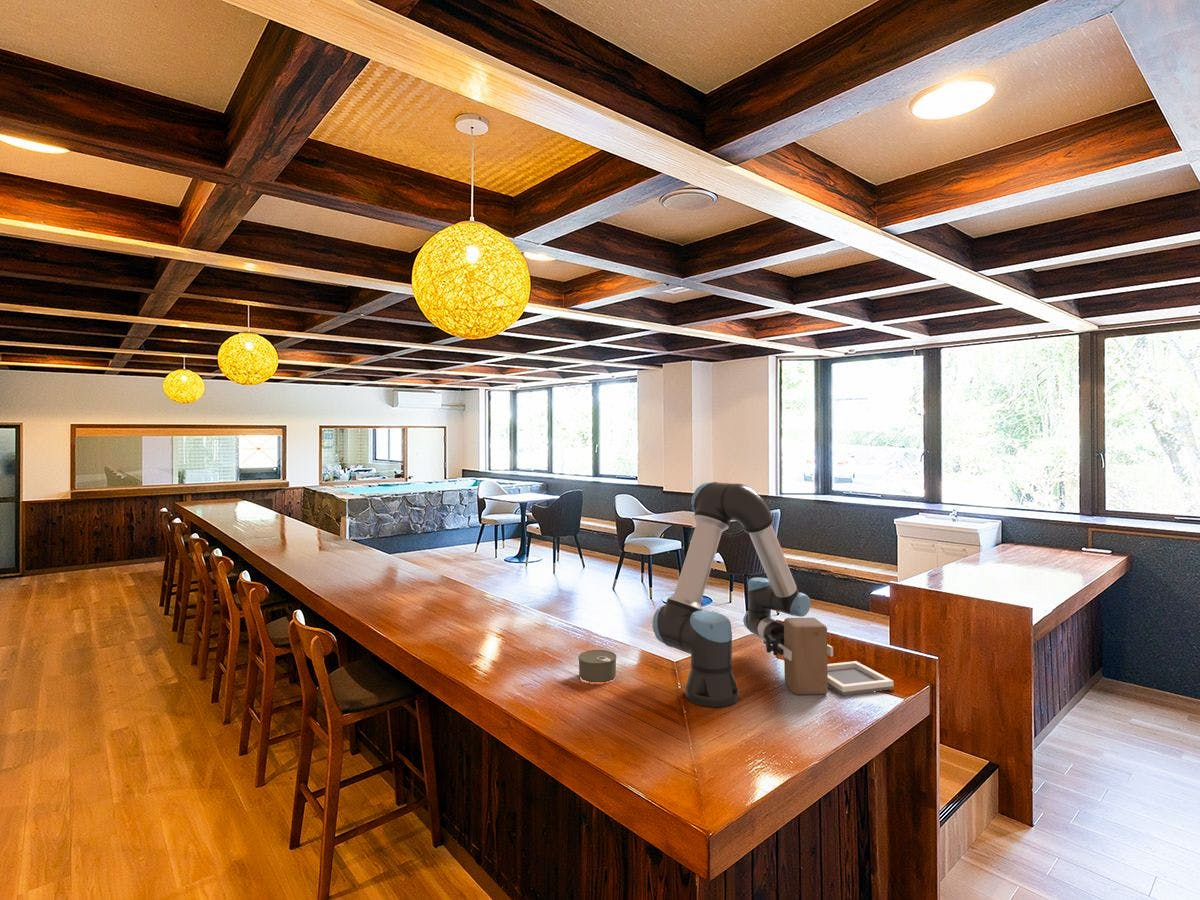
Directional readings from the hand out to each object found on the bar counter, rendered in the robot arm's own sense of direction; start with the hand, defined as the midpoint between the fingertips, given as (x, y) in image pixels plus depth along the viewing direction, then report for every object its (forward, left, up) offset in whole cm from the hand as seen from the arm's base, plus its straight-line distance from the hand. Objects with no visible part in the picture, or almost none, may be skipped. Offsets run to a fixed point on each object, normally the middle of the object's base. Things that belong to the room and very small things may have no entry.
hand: (811, 653), depth 175 cm
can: (-59, +26, -11) cm, 65 cm away
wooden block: (-1, +2, -11) cm, 11 cm away
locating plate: (+15, +3, -11) cm, 19 cm away
